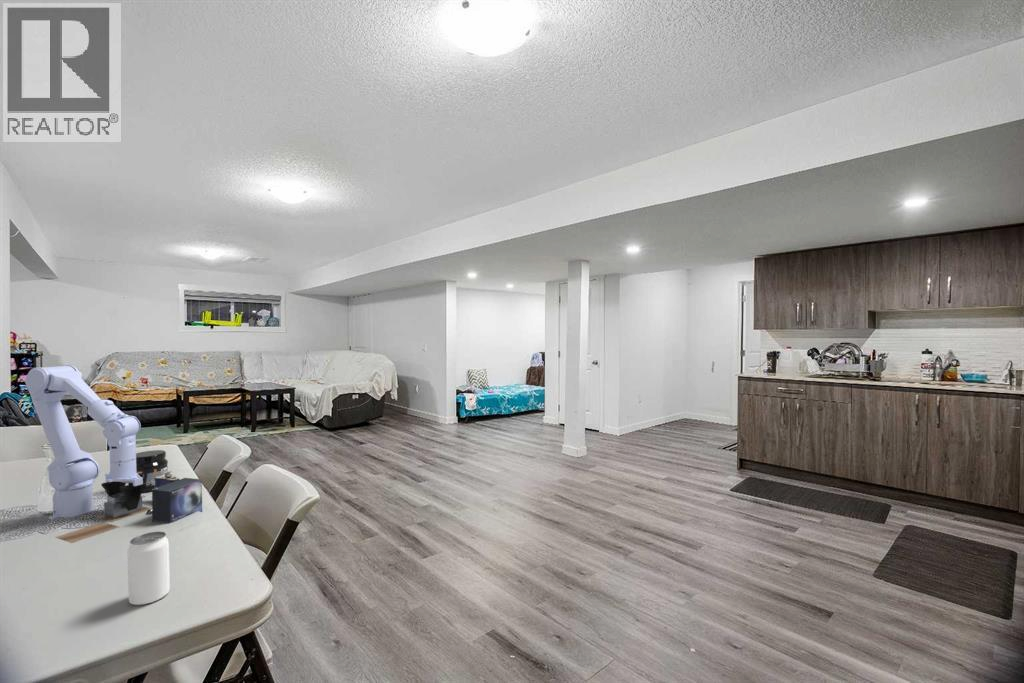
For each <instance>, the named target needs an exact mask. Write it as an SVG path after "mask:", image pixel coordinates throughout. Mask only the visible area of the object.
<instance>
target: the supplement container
mask: <svg viewBox="0 0 1024 683" xmlns="http://www.w3.org/2000/svg"><path fill="white" fill-rule="evenodd" d="M166 457H167V452H166V451H165V450H163V449H162V450H161V449H157V450H147V451H145V450H144V451H141V452H136V472H137V473H138V475H139V476H140V477H142V478H143V482H144V483H146V487H145V488H144V490H143V491H142V494H143V493H150V492H151V493H152V489H154V488H155V479H154V478H155V477H157V476H165V474H164V473H166V472H169V471H168V464H169V461H168V459H167V458H166Z"/></svg>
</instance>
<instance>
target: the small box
mask: <svg viewBox="0 0 1024 683" xmlns="http://www.w3.org/2000/svg"><path fill="white" fill-rule="evenodd" d="M151 495H152V496H151V498H152V499H151V500H152V502H151V509H152V514H151V518H152V520H151V522H152V523H160V524H161V523H162V524H171V523H174V522H178V521H179V520H181V519H184V518H186V517H189V516H191V515H193V514H195V513H197V512H198V513H199V512H200V513H203V479H201V478H200V479H199V478H192V477H191V478H189V477H183V478H181V479H180V478H179V480H177V481H174V482H171V483H169V484H166V485H163V486H160V487H157V488H154V489H152V492H151Z"/></svg>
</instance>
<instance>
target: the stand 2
mask: <svg viewBox="0 0 1024 683" xmlns="http://www.w3.org/2000/svg"><path fill="white" fill-rule="evenodd" d="M149 509H152V507H151V508H150V507H147V506H143V505H142V510H141V511H138V512H135V513H131V514H128V515H125V516H122V517H119V518H116V519H111V518H108V517H105V516H104V514H102V515H99V516H95V518H96V519H99V520H103V521H107V522H110V523H112V522H113V523H114V522H116V521H120V520H122V519H123V520H124V519H126V518H129V517H133V516H135V515H138V514H141V513H144V512H145V513H146V512H147V511H148V510H149Z"/></svg>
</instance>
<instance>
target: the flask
mask: <svg viewBox="0 0 1024 683" xmlns="http://www.w3.org/2000/svg"><path fill="white" fill-rule="evenodd" d="M172 472H173V471H172V470H170V471H168V472H166V473H164V474H165V476H157V477H155V478H154V479H155V488H157V487H160V486H163V485H166V484H169V483H171V482H174V481H177V480H180V478H179V477H176V476H175V475H173V474H171V473H172Z"/></svg>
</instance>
